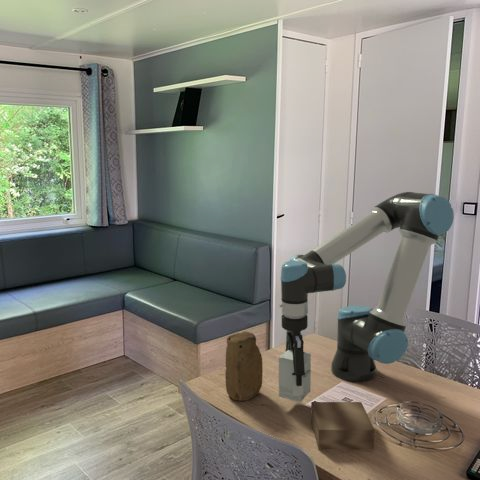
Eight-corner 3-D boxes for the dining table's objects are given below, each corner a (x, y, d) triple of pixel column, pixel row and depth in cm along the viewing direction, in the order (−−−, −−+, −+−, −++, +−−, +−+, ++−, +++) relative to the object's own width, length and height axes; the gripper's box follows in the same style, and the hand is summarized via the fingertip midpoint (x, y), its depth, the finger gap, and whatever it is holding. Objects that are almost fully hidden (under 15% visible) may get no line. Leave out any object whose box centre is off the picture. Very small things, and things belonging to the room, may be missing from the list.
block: (235, 404, 147) (234, 341, 144) (223, 394, 154) (222, 334, 150) (265, 395, 153) (265, 334, 149) (252, 385, 159) (252, 327, 155)
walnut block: (360, 421, 138) (361, 401, 137) (373, 451, 124) (374, 429, 123) (311, 421, 138) (311, 402, 137) (318, 451, 124) (318, 429, 123)
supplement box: (300, 403, 141) (300, 362, 138) (278, 396, 145) (277, 356, 142) (311, 392, 147) (311, 352, 145) (289, 386, 151) (289, 347, 148)
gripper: (275, 303, 152) (276, 370, 156) (288, 329, 130) (288, 406, 134) (299, 302, 152) (299, 368, 157) (316, 327, 130) (315, 404, 135)
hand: (294, 385), depth 145 cm, fingers closed on supplement box, 10 cm apart
